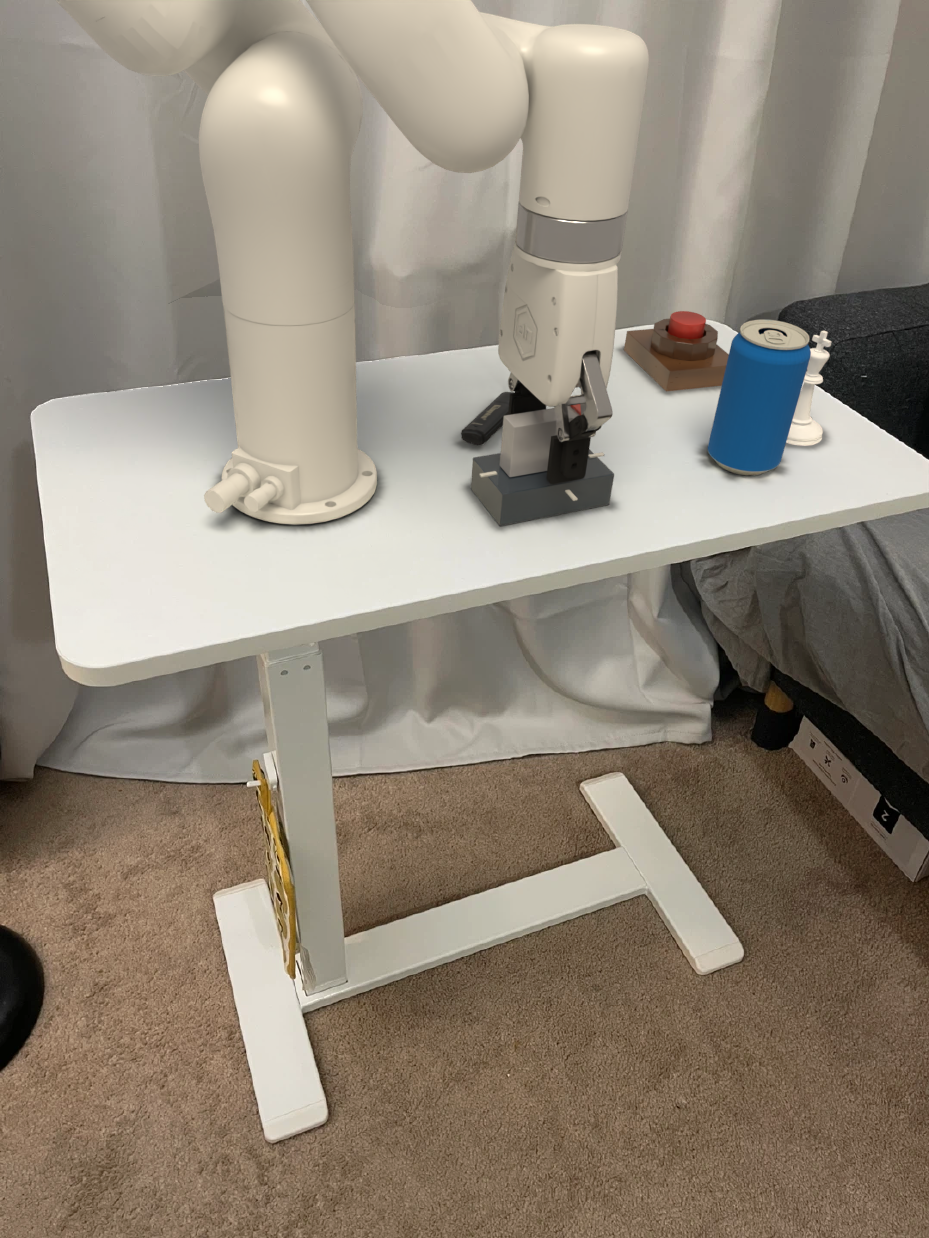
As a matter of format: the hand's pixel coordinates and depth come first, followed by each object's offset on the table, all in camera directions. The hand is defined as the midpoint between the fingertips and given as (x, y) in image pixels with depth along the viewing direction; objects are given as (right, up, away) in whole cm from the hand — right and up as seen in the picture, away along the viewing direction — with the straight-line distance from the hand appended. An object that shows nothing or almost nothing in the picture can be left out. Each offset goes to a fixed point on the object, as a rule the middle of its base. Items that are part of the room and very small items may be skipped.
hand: (544, 455), depth 81 cm
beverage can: (+18, +1, +9) cm, 21 cm away
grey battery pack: (0, -1, +1) cm, 1 cm away
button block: (+16, +13, +24) cm, 32 cm away
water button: (+16, +16, +22) cm, 31 cm away
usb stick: (-4, +5, +12) cm, 13 cm away
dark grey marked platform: (0, -3, +2) cm, 4 cm away
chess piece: (+25, +4, +14) cm, 29 cm away
